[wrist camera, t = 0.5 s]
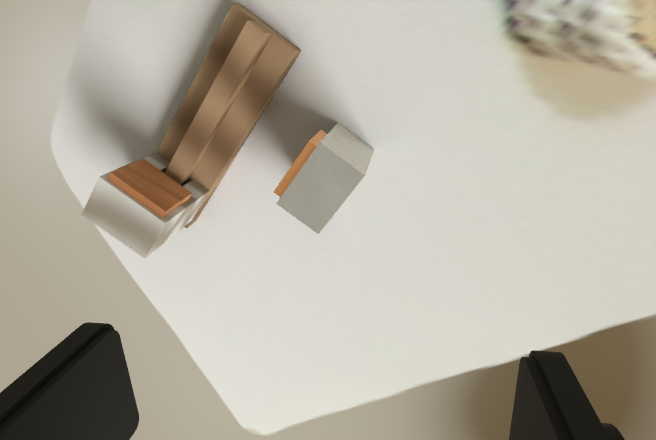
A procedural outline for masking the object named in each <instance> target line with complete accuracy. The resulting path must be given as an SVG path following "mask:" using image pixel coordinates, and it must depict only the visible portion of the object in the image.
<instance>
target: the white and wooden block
mask: <svg viewBox="0 0 656 440" xmlns="http://www.w3.org/2000/svg"><path fill="white" fill-rule="evenodd" d="M373 152H374V150H373V149H372V148H371V147H369V146H368V145H367V144H365V143H364V142H363V141H362V140H360V139H359V138H358V137H356V136H355V135H354V134H352V133H351V132H350V131H348V130H347V129H346V128H344V127H343V126H342V125H340V124H339V123H337V124H336V125H335V126H334V128H333V129H332V130H331V131H330V132H329V133H328V134H327V133H325V132H324V131H323V130H320V131H319V132H318V133H317V134H316V135H315V136H314V137H312V138H311V139H310V140H309V142H308V143H307V145H306V146H305V147H304V149H303V150H302V152H301V153H300V155H299V156H298V157H297V159H296V160H295V162H294V163H293V165H292V166H291V168H290V169H289V170H288V172H287V173H286V175H285V176H284V178H283V179H282V181H281V182H280V183H279V185H278V186H277V188H276V189H275V191H274V193H275V194H277V195H278V196H280V197H281V198H280V199H279V201H278V202H277V203H276V204H278V205H279V206H280V207H282V208H283V209H285V210H286V211H287V212H289V213H290V214H291V215H293V216H294V217H296V218H297V219H298V220H300V221H301V222H302V223H304V224H305V225H307V226H308V227H309V228H311V229H312V230H313V231H315V232H316V233H318V234H319V233H320V231H321V230H322V229H323V228H324V226H325V225H326V224H327V222H328V221H329V220H330V219H331V217H332V216H333V215H334V214H335V212H336V211H337V210H338V209H339V207H340V206H341V205H342V204H343V202H344V201H345V200H346V199H347V197H348V196H349V195H350V194H351V192H352V191H353V190H354V188H355V187H356V186H357V185H358V183H359V182H360V181H361V180H362V178H363V177H364V176H365V174H366V171H367V168H368V165H369V163H370V160H371V157H372V154H373Z"/></svg>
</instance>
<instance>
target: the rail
mask: <svg viewBox="0 0 656 440" xmlns="http://www.w3.org/2000/svg"><path fill="white" fill-rule="evenodd" d="M300 52H301V50H300V49H299V48H297V47H296V46H295V45H293V44H292V43H291V42H290V41H288V40H287V39H286V38H284V37H283V36H282V35H280V34H279V33H278V32H277V31H275V30H274V29H273V28H271V27H270V26H269V25H267V24H266V23H265V22H264V21H262V20H261V19H260V18H258V17H257V16H256V15H254V14H253V13H252V12H251V11H249V10H248V9H247V8H245V7H244V6H243V5H238V4H233V5H232V7H231V9H230V11H229V12H228V13H227V15H226V17H225V19H224V21H223V23H222V24H221V26H220V28H219V30H218V32H217V34H216V36H215V38H214V40H213V42H212V44H211V46H210V48H209V50H208V51H207V53H206V55H205V57H204V59H203V60H204V61H203V63H202V65H201V67H200V69H199V71H198V73H197V75H196V77H195V79H194V81H193V82H192V84H191V86H190V88H189V90H188V92H187V94H186V96H185V98H184V100H183V102H182V104H181V106H180V107H179V109H178V111H177V113H176V115H175V117H174V119H173V121H172V123H171V125H170V127H169V129H168V131H167V133H166V134H165V136H164V138H163V140H162V142H161V144H160V146H159V148H158V150H157V152H156V153H153V154H151V155H149V156H146V157H144V158H142V159H139V160H137V161H135V162H132V163H130V164H128V165H126V166H123V167H121V168H119V169H116V170H114V171H112V172H109V173H107V174H105V175H102V176H100V177H99V178H98V181H97V183H96V185H95V187H94V189H93V191H92V193H91V196H90V198H89V200H88V202H87V204H86V206H85V209H84V211H83V213H82V215H83V216H84V217H86V218H87V219H88V220H90V221H91V222H93V223H94V224H96V225H97V226H99V227H100V228H101V229H103V230H104V231H106V232H107V233H109V234H110V235H112V236H113V237H114V238H116V239H117V240H119V241H120V242H122V243H123V244H125V245H126V246H127V247H129V248H130V249H132V250H133V251H135V252H136V253H138V254H139V255H140V256H142V257H143V258H146V257H147V256H149V255H150V254H151V253H152V252H153V251H155V250H156V249H157V248H158V247H160V246H161V245H162V244H163V243H165V242H166V241H167V240H168V239H170V238H171V237H172V236H173V235H175V234H176V233H177V232H178V231H179V230H181V229H182V228H183V227H185V228H188V227H189V226H190V225H191V224H193V223H194V222H195V221H196V220H197V218H198V217H199V215H200V213H201V212H202V210H203V209H204V207H205V205H206V204H207V202H208V200H209V199H210V197H211V196H212V194H213V192H214V191H215V189H216V188H217V186H218V184H219V183H220V181H221V179H222V178H223V176H224V175H225V173H226V171H227V170H228V168H229V166H230V165H231V163H232V162H233V160H234V158H235V157H236V155H237V154H238V152H239V150H240V149H241V147H242V145H243V144H244V142H245V141H246V139H247V137H248V136H249V134H250V133H251V131H252V129H253V128H254V126H255V124H256V123H257V121H258V120H259V118H260V116H261V115H262V113H263V112H264V110H265V108H266V107H267V105H268V103H269V102H270V100H271V99H272V97H273V95H274V94H275V92H276V90H277V89H278V87H279V86H280V84H281V82H282V81H283V79H284V78H285V76H286V74H287V73H288V71H289V69H290V68H291V66H292V65H293V63H294V61H295V60H296V58H297V57H298V55H299V53H300Z"/></svg>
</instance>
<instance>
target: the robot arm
mask: <svg viewBox="0 0 656 440" xmlns="http://www.w3.org/2000/svg"><path fill="white" fill-rule="evenodd" d="M138 422H139V413H138V409H137V405H136V401H135V397H134V393H133V388H132V385H131V380H130V376H129V372H128V368H127V364H126V360H125V355H124V352H123V348H122V343H121V339H120V335H119V333H118V332H117V331H115V330H114V328H113V326H112V325H110V324H103V323H84V324H82V325H81V326H80V327H79V328H77V329H76V330H75V331H74V332H72V333H71V334H70V335H69V336H68V337H66V338H65V339H64V340H63V341H62V342H61V343H60V344H58V345H57V346H56V347H55V348H54V349H52V350H51V351H50V352H49V353H47V354H46V355H45V356H44V357H43V358H42V359H40V360H39V361H38V362H37V363H35V364H34V365H33V366H32V367H31V368H30V369H28V370H27V371H26V372H25V373H23V374H22V375H21V376H20V377H19V378H18V379H16V380H15V381H14V382H13V383H12V384H10V385H9V386H8V387H7V388H6V389H4V390H3V391H2V392H1V393H0V440H129V439H130V438H131V436H132V435H133V434H134V432H135V430H136V429H137V426H138ZM509 440H624V438H623V437H622V435H621V433H620V432H619V431H618V429H617V428H616V427H615V426H613V425H612V424H606V423H601V422H600V420H599V418H598V416H597V415H596V413H595V411H594V409H593V407H592V405H591V404H590V402H589V400H588V398H587V396H586V395H585V393H584V391H583V389H582V387H581V386H580V384H579V382H578V380H577V378H576V376H575V374H574V373H573V371H572V369H571V367H570V365H569V364H568V362H567V360H566V358H565V356H564V355H563V354H562V353H561V352H548V351H531V353H530V355H529V357H522V358H521V360H520V364H519V372H518V379H517V386H516V393H515V400H514V408H513V414H512V422H511V429H510V436H509Z"/></svg>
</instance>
